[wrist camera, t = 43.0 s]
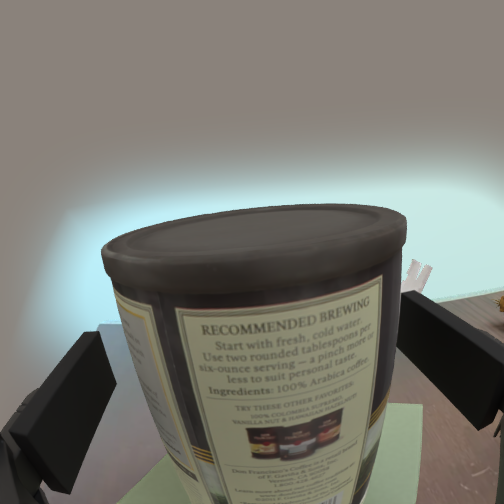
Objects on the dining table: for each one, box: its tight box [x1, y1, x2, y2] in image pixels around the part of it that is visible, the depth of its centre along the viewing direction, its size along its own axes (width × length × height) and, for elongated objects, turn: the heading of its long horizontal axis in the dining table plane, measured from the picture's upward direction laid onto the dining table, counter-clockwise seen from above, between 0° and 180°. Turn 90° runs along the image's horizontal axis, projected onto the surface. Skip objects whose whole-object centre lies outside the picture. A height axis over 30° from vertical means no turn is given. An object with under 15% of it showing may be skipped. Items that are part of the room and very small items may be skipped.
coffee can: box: [101, 204, 407, 504], centre depth 12 cm, size 10×10×14 cm
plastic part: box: [397, 259, 432, 334], centre depth 48 cm, size 8×10×12 cm
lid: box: [116, 403, 423, 504], centre depth 14 cm, size 15×16×1 cm
